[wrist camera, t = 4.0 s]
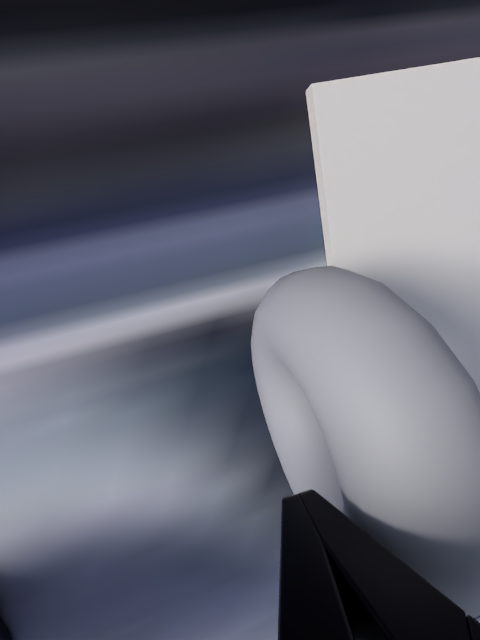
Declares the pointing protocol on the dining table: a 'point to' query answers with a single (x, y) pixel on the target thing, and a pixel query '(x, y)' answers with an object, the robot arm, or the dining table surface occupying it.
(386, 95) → the placemat
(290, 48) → the dining table surface
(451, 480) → the donut
